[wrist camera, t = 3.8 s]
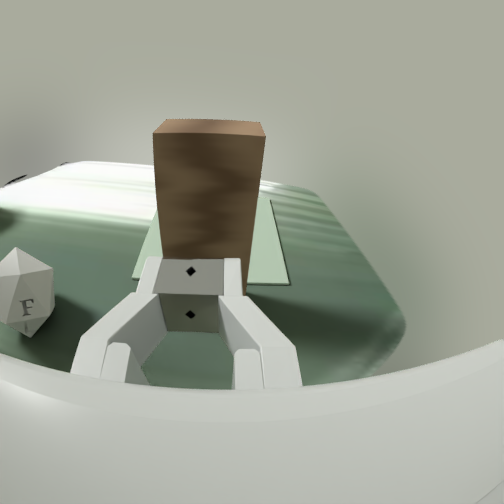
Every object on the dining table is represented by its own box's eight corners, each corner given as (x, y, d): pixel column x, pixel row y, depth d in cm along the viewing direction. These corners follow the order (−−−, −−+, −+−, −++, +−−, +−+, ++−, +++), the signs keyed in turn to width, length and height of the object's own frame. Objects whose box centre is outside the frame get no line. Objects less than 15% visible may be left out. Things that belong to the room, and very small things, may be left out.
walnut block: (172, 317, 27) (152, 133, 15) (177, 288, 30) (166, 119, 18) (242, 319, 27) (265, 136, 16) (240, 290, 30) (259, 122, 19)
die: (2, 348, 19) (-10, 328, 14) (-10, 278, 21) (-19, 236, 16) (60, 336, 26) (68, 312, 20) (44, 270, 28) (51, 230, 22)
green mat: (132, 279, 30) (131, 277, 30) (163, 195, 45) (163, 193, 45) (288, 284, 32) (288, 283, 32) (268, 199, 47) (269, 197, 47)
